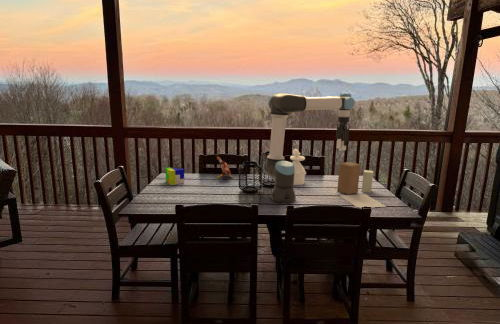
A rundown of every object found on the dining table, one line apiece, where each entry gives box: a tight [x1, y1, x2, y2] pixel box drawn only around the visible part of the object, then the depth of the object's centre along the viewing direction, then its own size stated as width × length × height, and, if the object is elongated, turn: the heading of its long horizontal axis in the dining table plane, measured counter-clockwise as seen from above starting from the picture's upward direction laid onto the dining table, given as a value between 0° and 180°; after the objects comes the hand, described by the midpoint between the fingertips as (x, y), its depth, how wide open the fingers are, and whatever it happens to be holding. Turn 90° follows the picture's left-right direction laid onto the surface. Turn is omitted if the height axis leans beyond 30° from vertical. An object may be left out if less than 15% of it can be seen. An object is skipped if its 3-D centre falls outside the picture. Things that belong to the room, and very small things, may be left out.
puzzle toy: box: [164, 166, 185, 186], centre depth 236 cm, size 10×10×10 cm
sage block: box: [361, 169, 374, 194], centre depth 227 cm, size 6×6×14 cm
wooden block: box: [336, 161, 361, 195], centre depth 222 cm, size 10×10×20 cm
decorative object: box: [289, 148, 307, 186], centre depth 241 cm, size 16×14×25 cm
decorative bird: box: [216, 155, 234, 179], centre depth 251 cm, size 28×18×15 cm, turn 6°
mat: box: [339, 194, 387, 209], centre depth 206 cm, size 23×18×1 cm
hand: (341, 149), depth 232 cm, fingers open, 7 cm apart
